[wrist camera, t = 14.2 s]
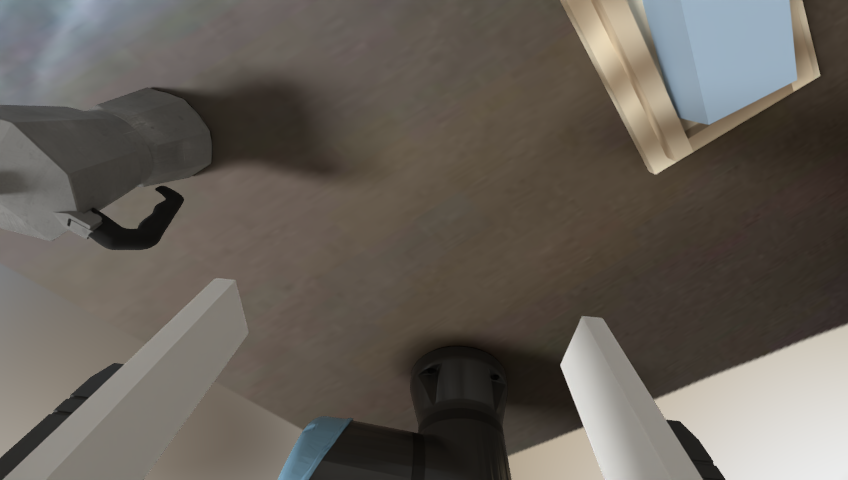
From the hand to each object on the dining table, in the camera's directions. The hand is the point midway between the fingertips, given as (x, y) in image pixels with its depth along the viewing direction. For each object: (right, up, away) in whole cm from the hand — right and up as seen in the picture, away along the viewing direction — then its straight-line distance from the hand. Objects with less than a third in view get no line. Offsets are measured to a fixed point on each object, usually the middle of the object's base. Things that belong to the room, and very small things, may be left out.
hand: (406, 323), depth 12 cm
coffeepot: (-26, +14, +22) cm, 37 cm away
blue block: (+23, +21, +14) cm, 34 cm away
